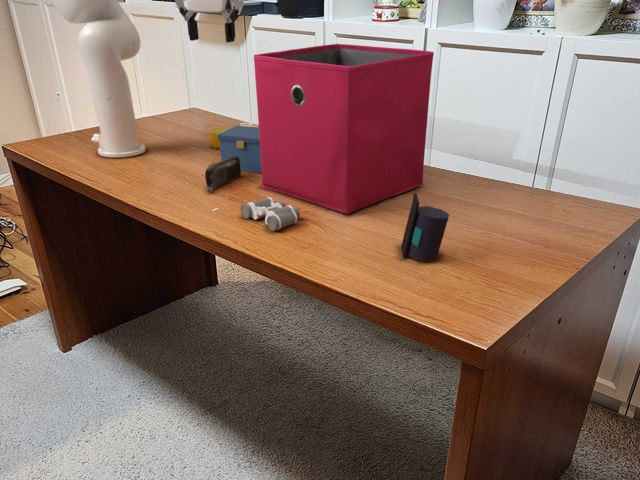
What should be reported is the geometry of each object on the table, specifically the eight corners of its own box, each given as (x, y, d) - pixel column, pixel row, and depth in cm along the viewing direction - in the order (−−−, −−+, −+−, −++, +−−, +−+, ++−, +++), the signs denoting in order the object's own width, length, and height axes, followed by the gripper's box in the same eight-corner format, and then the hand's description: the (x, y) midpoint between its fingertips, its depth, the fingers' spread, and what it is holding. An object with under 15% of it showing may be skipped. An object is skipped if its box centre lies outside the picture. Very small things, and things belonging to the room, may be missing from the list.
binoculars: (240, 216, 122) (239, 199, 120) (271, 207, 127) (271, 191, 125) (276, 233, 115) (275, 215, 113) (307, 223, 119) (307, 206, 117)
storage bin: (255, 188, 138) (247, 52, 122) (336, 162, 155) (338, 41, 140) (346, 218, 122) (350, 66, 106) (425, 186, 139) (439, 51, 124)
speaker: (392, 257, 105) (403, 200, 100) (401, 246, 110) (412, 191, 104) (433, 268, 103) (447, 211, 98) (441, 257, 108) (454, 202, 102)
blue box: (219, 169, 150) (216, 135, 145) (239, 158, 159) (236, 125, 154) (264, 174, 146) (263, 139, 142) (282, 163, 155) (281, 129, 150)
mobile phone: (230, 154, 144) (199, 169, 132) (241, 155, 144) (210, 170, 132) (232, 174, 147) (201, 191, 135) (243, 175, 146) (212, 192, 134)
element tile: (208, 146, 168) (207, 129, 166) (247, 137, 178) (246, 120, 175) (245, 156, 160) (244, 138, 157) (283, 145, 170) (283, 128, 167)
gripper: (247, -46, 132) (252, 41, 141) (179, -46, 137) (188, 37, 146) (231, -46, 126) (237, 44, 135) (161, -46, 131) (172, 41, 140)
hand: (212, 40), depth 141 cm, fingers open, 9 cm apart
